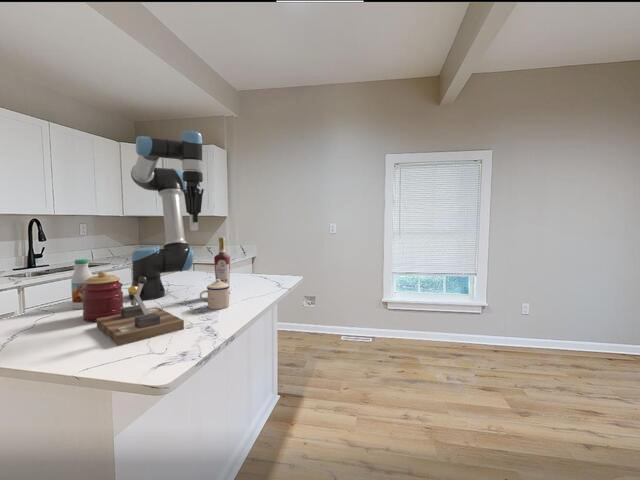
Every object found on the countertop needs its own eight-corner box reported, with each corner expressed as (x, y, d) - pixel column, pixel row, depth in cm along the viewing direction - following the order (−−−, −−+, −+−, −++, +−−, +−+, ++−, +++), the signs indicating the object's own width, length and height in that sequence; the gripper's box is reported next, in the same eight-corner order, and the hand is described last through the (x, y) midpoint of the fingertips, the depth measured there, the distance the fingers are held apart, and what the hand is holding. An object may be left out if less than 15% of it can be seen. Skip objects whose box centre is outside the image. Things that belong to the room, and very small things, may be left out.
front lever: (140, 315, 108) (125, 288, 104) (148, 310, 110) (134, 283, 106) (143, 317, 106) (128, 289, 102) (152, 312, 108) (137, 284, 104)
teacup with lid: (228, 302, 146) (227, 276, 145) (231, 308, 137) (230, 280, 137) (199, 305, 141) (198, 278, 140) (200, 311, 133) (199, 282, 132)
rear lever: (127, 303, 118) (138, 275, 120) (135, 305, 120) (146, 276, 122) (130, 305, 116) (141, 276, 118) (138, 306, 118) (149, 278, 120)
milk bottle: (68, 308, 136) (65, 260, 134) (87, 303, 143) (85, 257, 141) (80, 310, 133) (77, 261, 131) (99, 305, 140) (97, 258, 139)
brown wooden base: (96, 327, 114) (96, 311, 113) (157, 314, 128) (156, 300, 128) (117, 345, 98) (117, 326, 98) (183, 328, 113) (183, 312, 112)
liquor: (231, 293, 162) (230, 237, 160) (230, 297, 155) (229, 238, 153) (215, 294, 160) (214, 237, 158) (214, 298, 153) (212, 238, 151)
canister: (128, 310, 133) (126, 267, 132) (117, 321, 120) (114, 273, 119) (91, 312, 130) (89, 268, 129) (76, 323, 117) (73, 274, 116)
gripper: (209, 171, 130) (210, 231, 132) (193, 173, 139) (195, 229, 141) (191, 169, 125) (192, 231, 127) (176, 172, 133) (177, 230, 135)
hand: (194, 230), depth 134 cm, fingers closed
